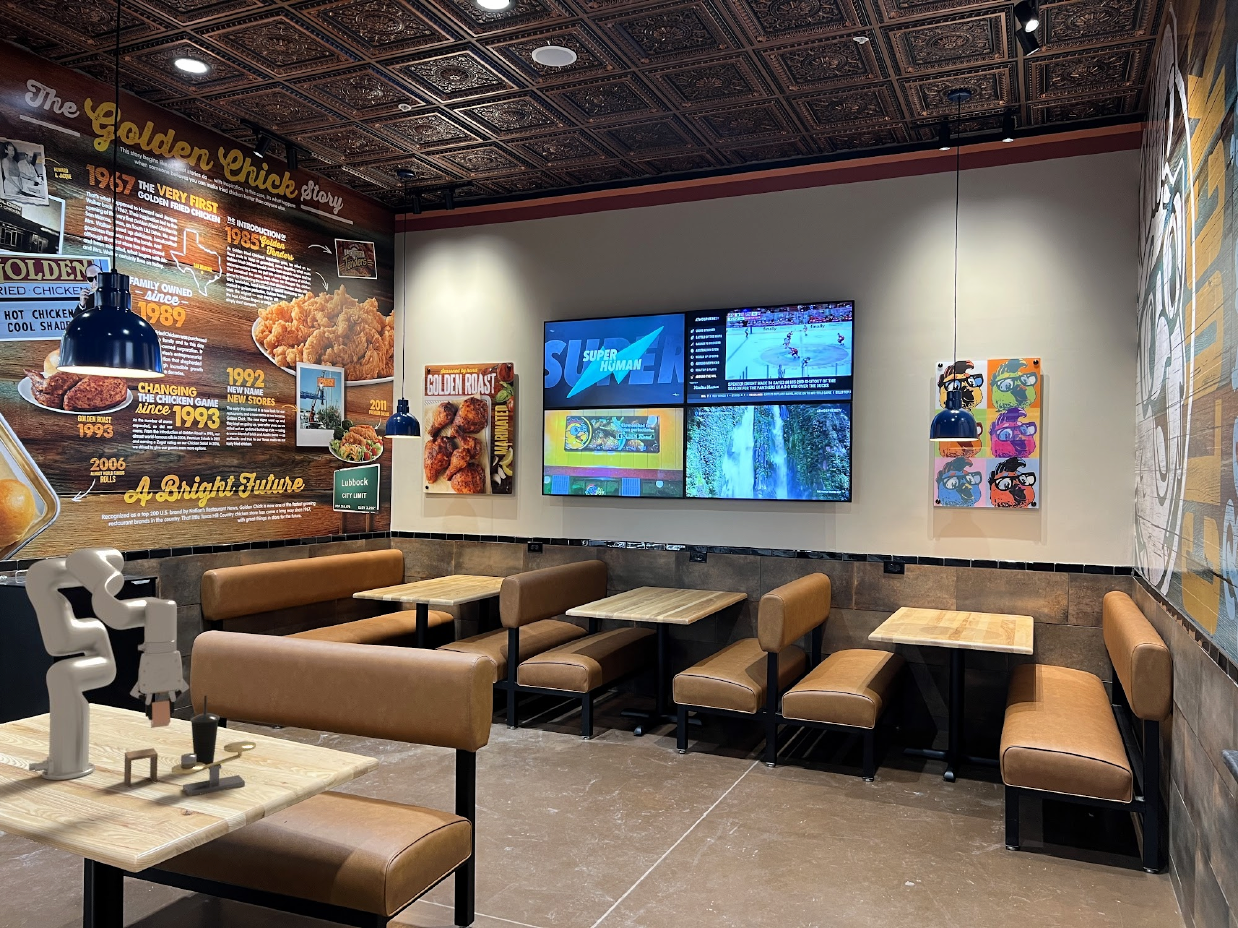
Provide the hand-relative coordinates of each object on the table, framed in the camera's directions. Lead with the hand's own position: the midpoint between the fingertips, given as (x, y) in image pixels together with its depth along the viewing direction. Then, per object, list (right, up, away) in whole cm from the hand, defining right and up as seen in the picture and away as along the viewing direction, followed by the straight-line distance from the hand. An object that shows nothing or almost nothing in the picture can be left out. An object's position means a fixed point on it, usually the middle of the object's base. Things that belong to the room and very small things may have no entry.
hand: (159, 716), depth 238 cm
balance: (+12, -20, +4) cm, 24 cm away
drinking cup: (+1, -20, +22) cm, 30 cm away
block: (+1, -1, -2) cm, 3 cm away
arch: (-9, -20, +8) cm, 23 cm away
